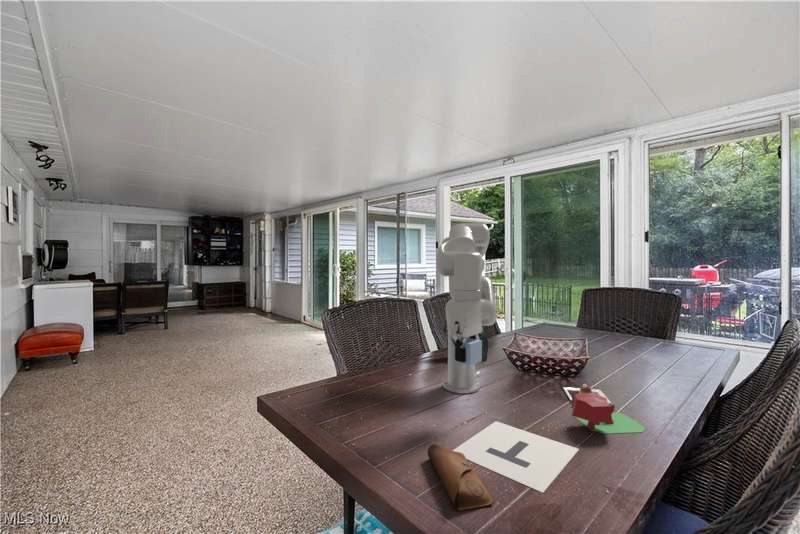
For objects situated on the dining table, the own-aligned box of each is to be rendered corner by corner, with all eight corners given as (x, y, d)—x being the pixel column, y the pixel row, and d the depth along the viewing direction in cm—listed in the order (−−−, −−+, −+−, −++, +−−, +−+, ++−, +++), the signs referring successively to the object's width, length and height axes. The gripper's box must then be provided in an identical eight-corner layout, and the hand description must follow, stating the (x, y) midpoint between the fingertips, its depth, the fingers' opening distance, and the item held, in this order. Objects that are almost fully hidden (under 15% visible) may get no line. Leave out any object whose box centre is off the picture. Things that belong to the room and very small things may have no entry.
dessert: (611, 406, 114) (612, 391, 114) (570, 403, 117) (570, 388, 117) (600, 392, 126) (600, 379, 126) (562, 390, 128) (562, 376, 128)
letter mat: (495, 421, 103) (495, 421, 103) (579, 449, 88) (579, 448, 88) (450, 452, 87) (450, 451, 87) (543, 493, 72) (543, 492, 72)
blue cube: (463, 357, 109) (464, 337, 108) (481, 361, 104) (481, 340, 104) (452, 361, 104) (452, 340, 104) (470, 365, 100) (470, 344, 100)
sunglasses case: (497, 502, 68) (480, 474, 67) (467, 526, 67) (449, 498, 66) (461, 451, 86) (447, 429, 85) (437, 470, 85) (422, 448, 84)
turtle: (554, 414, 108) (554, 383, 108) (619, 411, 109) (619, 382, 109) (583, 439, 93) (583, 404, 93) (658, 436, 94) (658, 402, 94)
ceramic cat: (443, 359, 164) (443, 315, 164) (443, 355, 171) (444, 313, 170) (488, 361, 161) (488, 316, 160) (487, 357, 167) (487, 314, 167)
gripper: (472, 292, 113) (471, 350, 113) (438, 297, 100) (438, 362, 101) (494, 294, 107) (493, 355, 108) (461, 299, 95) (461, 368, 95)
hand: (467, 358), depth 104 cm, fingers closed on blue cube, 6 cm apart
